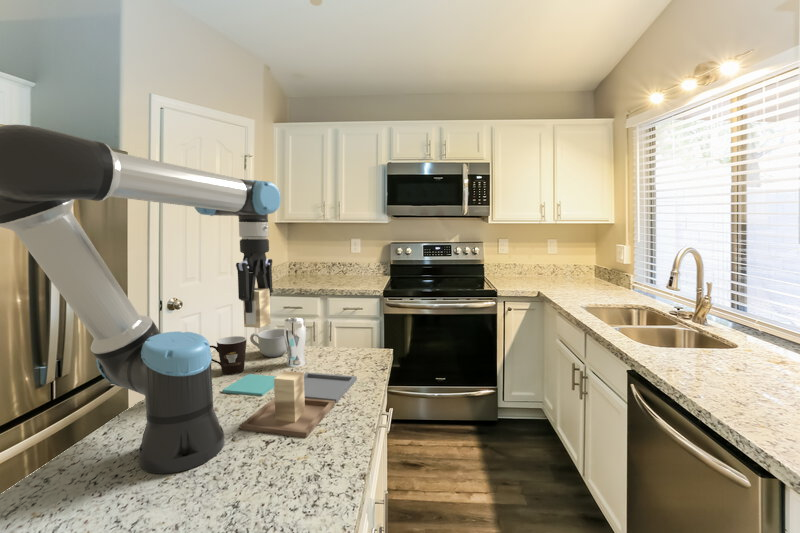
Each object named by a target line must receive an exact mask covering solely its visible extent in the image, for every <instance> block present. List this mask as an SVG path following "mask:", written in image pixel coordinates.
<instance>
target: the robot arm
mask: <svg viewBox="0 0 800 533" xmlns="http://www.w3.org/2000/svg"><path fill="white" fill-rule="evenodd" d="M109 197H111V198H120V199H128V200H129V199H130V200H136V201H144V202H145V201H146V202H153V203H161V204H168V205H175V206H176V205H178V206H184V207H194V209H195V210H196V212H197V213H199V214H200V215H204V216H210V217H214V216H221V217H222V216H226V217H227V216H232V217H233V216H234V217H238V237H239V238H241V239H240V240H239V252H240V253H242V254H243V258H242V261H241V262H236V263H235V267H236V271H237V287H238V288H237V289H238V290H237V291H238V294H237V295H238V299H239V300H240V302H241V301H242V302H243V301H245V312H246V324H252V325H255V324H256V301H255V300H253V299H254V290H255V288H256V285H257V288H261V289H269V290H270V297H271V296H272V293H273V270H272V269H273V268H272V267H273V259H271V258H270V259H269V258H267V255H266V253H269V251H270V241H269V239H268V238H267V237H269V223H268V222H269V215H270V214H274V213H275V212H277V211H278V210H279V208H280V207H281V200H282V199H281V193H280V189H279V188H278V186H277V185H276V184H275V183H273V182H271V181H268V180H266V181H265V180H252V179H243V178H238V177H233V176H229V175H224V174H219V173H214V172H210V171H205V170H200V169H196V168H192V167H186V166H182V165H177V164H173V163H170V162H169V163H168V162H163V161H158V160H154V159H149V158H145V157H141V156H135V155H131V154H126V153H122V152H117V151H113V149H112V148H111V147H110V146H109V145H108V144H107V143H104V142H101V141H97V140H92V139H88V138H83V137H80V136H76V135H72V134H69V133H65V132H61V131H60V132H59V131H56V130H51V129H47V128H43V127H38V126H32V125H26V124H5V125H1V126H0V228H3V229H7V230H10V231H12V232H14V233H15V235H16V236H17V238H18V239H19V241H20V242H21V243H22V244H23V246H24V247H25V248H26V250H27V251H28V252H29V253H30V255H31V256H32V257H33V259H34V260H35V262H36V263H37V265H39V267H40V269H41V270H42V271H43V272H44V273H45V275H46V276H47V278H48V279H49V280H50V282H51V283H52V284H53V286H54V287H55V289H56V290H57V291H58V293H59V294H60V295H61V297H62V298H63V299H64V300H65V302H66V303H67V305H68V306H69V308H70V309H71V310H72V311H73V312H74V314H75V315H76V317H77V318H78V320H80V321H81V324H82V325H83V326H84V328H85V329H86V330H87V331H88V333H89V334H90V335H91V336H92V338H93V340H92V342H91V345H90V351H91V352H92V354H93V355H94V357H95V359H96V360H95V361H96V366H97V367H96V368H97V370H98V371H99V373H100V374H101V376H102V377H103V378H104V379H105V380H106V381H108V382H109V383H111V384H112V385H115V386H117V387H120V388H124V389H127V390H130V391H133V392H135V393H139V394H141V395H142V396H143V395H144V397H145V398H144V399H145V410H146V411H145V412H146V424H145V427H144V431H143V435H142V439H141V444H140V445H139V447H138V453H137V456H138V457H137V458H138V465H139V467H140V469H142V471H144V472H148V473H149V474H160V475H161V474H162V475H163V474H173V473H179V472H183V471H188V470H189V469H193V468H196V467H199V466H201V465H202V464H205V463H206V462H208V461H211V459H213V458H214V457H216V456H218V455H219V453H221V451H222V450H223V448H224V446H225V432H224V429H223V427H222V426H221V425H220V421H219V419H218V417H217V413H216V411H215V409H214V394H213V375H212V361H211V360H212V359H213V358H212V356H213V355H212V353H211V352H212V351H211V348H210V346H211V345H210V341H209V340H208V339H207V338H206V337H205V336H203V335H202V334H199V333H197V332H196V333H195V332H192V331H191V332H190V331H184V332H183V331H168V332H161V331H160V329H159V328H158V327H157V325H156V323H155V322H154V320H153V318H151V316H147V315H142V314H141V315H140V314H139V312H138V311H137V309H136V308H135V306H134V305H133V303H132V302H131V300H130V299H129V297H128V296H127V294H126V293H125V291H124V289H123V288H122V287H121V285H120V284H119V282H118V280H117V279H116V278H115V276H114V275H113V273H112V271H111V270H110V268H109V267H108V266H107V264H106V262H105V261H104V259H103V258H102V256H101V255H100V253H99V252H98V250H97V249H96V247H95V246H94V244H93V242H92V241H91V239H90V238H89V236H88V235H87V234H86V232H85V230H84V228H83V227H82V225H81V224H80V222H79V221H78V219H77V218H76V216H75V215H74V213H73V212H72V208H73V206H74V203H75V200H83V201H85V200H86V201H94V202H102V201H103V202H104V200H106V199H108V198H109Z"/></svg>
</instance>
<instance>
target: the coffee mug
mask: <svg viewBox="0 0 800 533" xmlns="http://www.w3.org/2000/svg"><path fill="white" fill-rule="evenodd" d="M211 348H212V349H215V351H216V352H217V353H218V357H219V361H218V360H216V359H213V358H212V360H211V362H214V363H217V364H218V365H219V366H220V368H221V373H222V374H223V375H225V374H226V375H227V376H231V375H237V374H241V373H242V372H244V371H245V363H246V362H245V361H246V351H247V337H245V336H239V335H238V336H237V335H236V336H235V335H234V336H227V337H223V338H219V339H217V340H216V346H215V345H210V349H211Z"/></svg>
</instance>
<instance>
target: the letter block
mask: <svg viewBox="0 0 800 533" xmlns="http://www.w3.org/2000/svg"><path fill="white" fill-rule="evenodd" d="M270 294H271V293H270V290H269V288H268V289H261V288H258V287H257V288H256V287H255V290H254V299H253V300H255V301H256V324H255V325H252V324H246V312H245V301H242V303H243V326H244V328H255V329H256V328H257V329H261V328H263V327H265V326H268V325H271V296H270Z"/></svg>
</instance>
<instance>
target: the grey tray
mask: <svg viewBox="0 0 800 533" xmlns="http://www.w3.org/2000/svg"><path fill="white" fill-rule="evenodd" d="M357 377H358V376H355V375H344V374H343V375H342V374H332V373H322V372H321V373H319V372H309V371H308V372H307V371H306V372H305V373H304V395H305V398H309V399H319V400H330V401H335V404H337V403H338V402H339V401H340V400H341V398H342V397H343V396H344V395H345V394H346V393H347V392H348V391H349V390H350V389H351V387H352V386H353V385H354V384H355V383H356V382H357V379H358V378H357Z"/></svg>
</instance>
